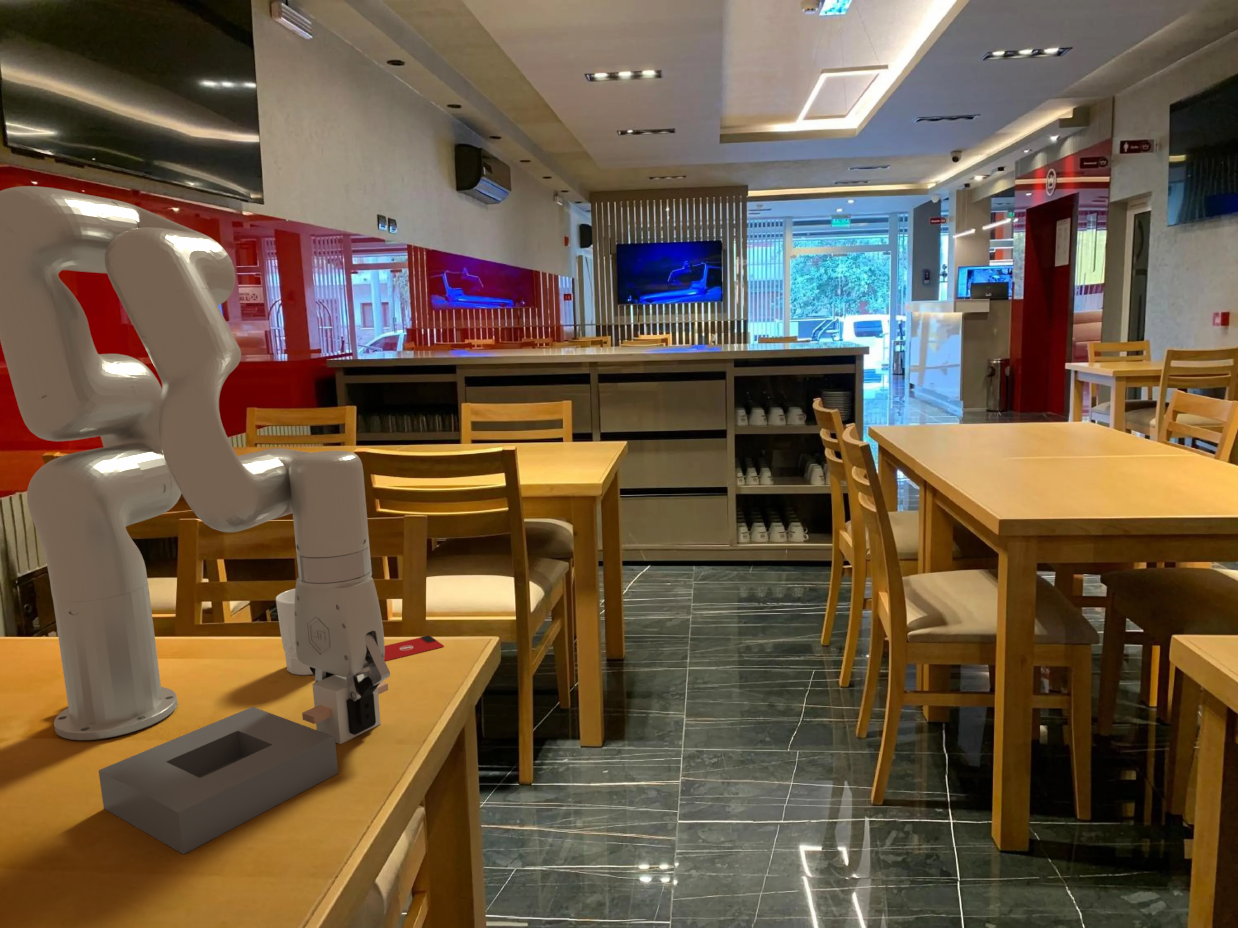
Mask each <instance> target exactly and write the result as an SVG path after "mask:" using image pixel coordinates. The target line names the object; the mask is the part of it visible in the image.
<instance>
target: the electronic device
mask: <svg viewBox="0 0 1238 928" xmlns="http://www.w3.org/2000/svg"><path fill="white" fill-rule="evenodd" d="M443 648H445V645H444V644H442V643H441V642H439V641H438V640H437V639H436V638H434V637H432V636H431V635H429V634H428V635H424V636H420V637H416V638H412V639H409V640H404V641H400V642H396V643H391V644H386V645H385V656H384V661H385V663H386V662H388V661H393V660H397V659H402V658H404V657H405V658H406V657H409V656H414V655H418V654H422V653H426V652H429V651H434V650H439V649H443Z"/></svg>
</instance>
